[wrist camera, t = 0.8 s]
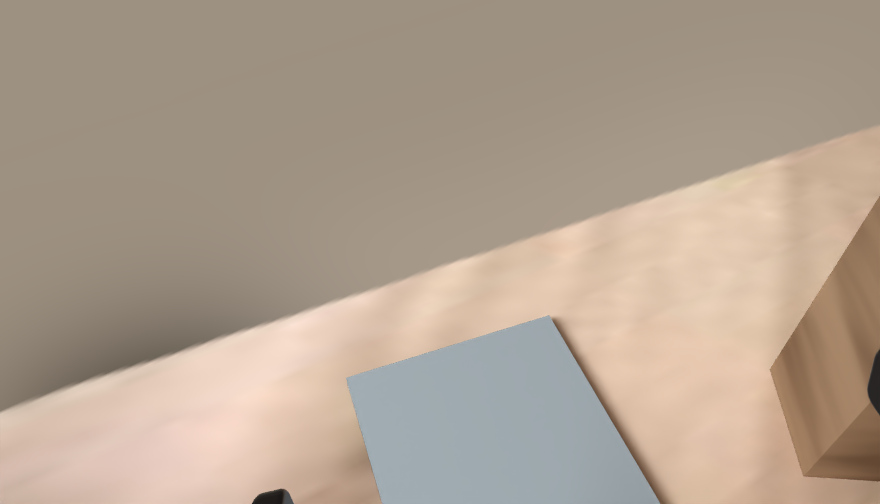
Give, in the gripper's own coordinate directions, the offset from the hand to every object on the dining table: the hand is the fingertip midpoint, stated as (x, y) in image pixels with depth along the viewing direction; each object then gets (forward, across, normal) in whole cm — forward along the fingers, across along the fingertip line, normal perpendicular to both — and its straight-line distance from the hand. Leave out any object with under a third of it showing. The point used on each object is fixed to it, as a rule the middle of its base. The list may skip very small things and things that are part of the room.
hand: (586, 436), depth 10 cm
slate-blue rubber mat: (+12, +1, +14) cm, 18 cm away
